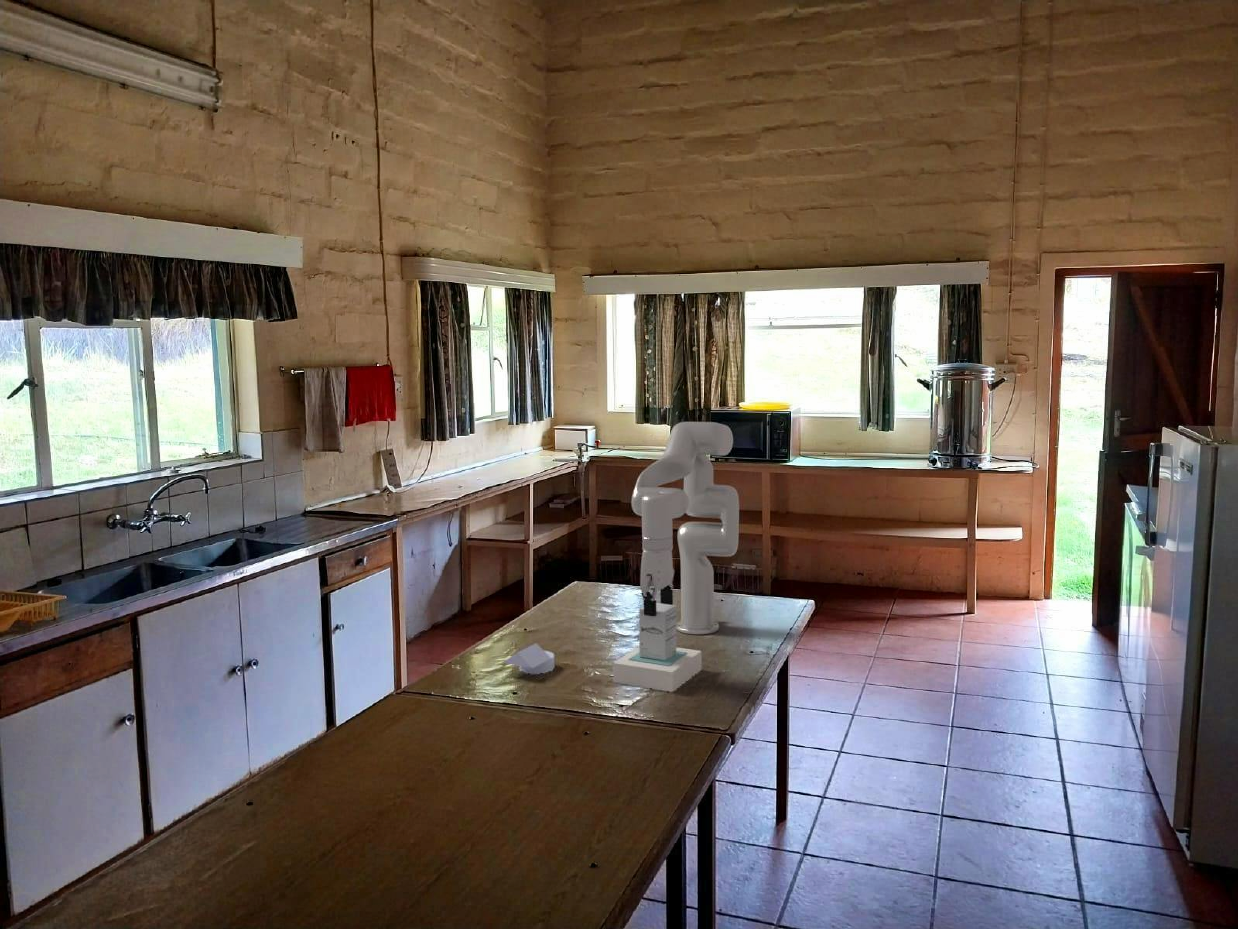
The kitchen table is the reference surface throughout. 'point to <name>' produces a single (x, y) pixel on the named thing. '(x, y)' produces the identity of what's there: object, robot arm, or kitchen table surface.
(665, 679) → the stand
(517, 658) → the wedge on round base
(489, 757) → the kitchen table surface
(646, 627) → the supplement box
